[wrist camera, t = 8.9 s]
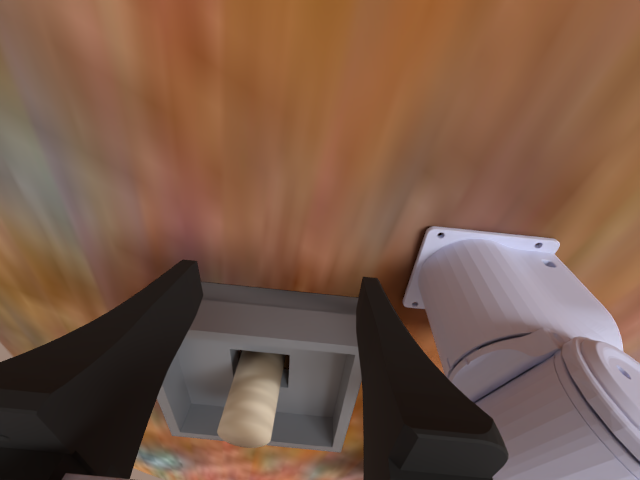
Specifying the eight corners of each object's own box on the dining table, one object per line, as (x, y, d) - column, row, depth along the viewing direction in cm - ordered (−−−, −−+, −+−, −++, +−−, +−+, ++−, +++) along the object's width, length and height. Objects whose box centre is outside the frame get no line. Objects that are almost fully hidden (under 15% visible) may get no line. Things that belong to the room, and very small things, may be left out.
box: (366, 298, 27) (371, 348, 23) (340, 405, 37) (340, 452, 33) (159, 277, 27) (125, 323, 23) (190, 390, 37) (172, 435, 33)
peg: (281, 336, 30) (264, 422, 24) (289, 363, 33) (275, 448, 26) (238, 337, 31) (210, 421, 24) (248, 364, 33) (225, 447, 27)
